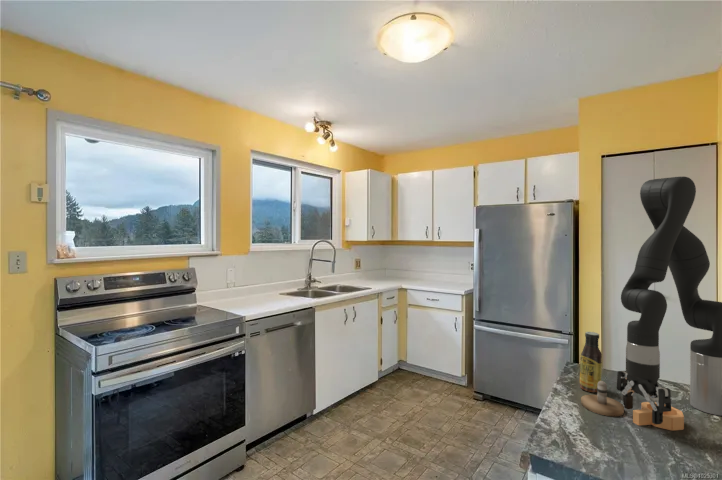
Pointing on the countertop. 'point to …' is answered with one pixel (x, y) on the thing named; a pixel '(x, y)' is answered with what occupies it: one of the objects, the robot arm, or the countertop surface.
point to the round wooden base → (602, 402)
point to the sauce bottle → (590, 363)
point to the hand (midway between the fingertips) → (641, 415)
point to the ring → (670, 418)
